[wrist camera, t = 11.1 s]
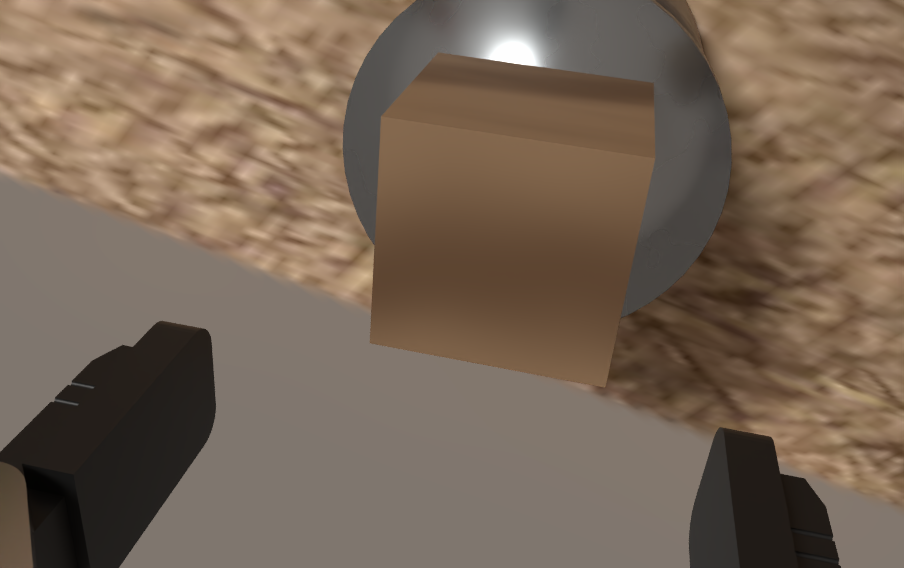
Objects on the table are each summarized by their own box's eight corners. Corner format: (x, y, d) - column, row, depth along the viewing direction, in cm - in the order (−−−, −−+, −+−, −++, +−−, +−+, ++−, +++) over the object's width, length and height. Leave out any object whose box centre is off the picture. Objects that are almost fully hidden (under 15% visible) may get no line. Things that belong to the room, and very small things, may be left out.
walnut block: (438, 52, 22) (381, 116, 17) (653, 82, 21) (655, 158, 17) (423, 242, 25) (369, 343, 20) (613, 275, 24) (605, 387, 19)
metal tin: (580, -150, 27) (553, -137, 20) (771, 98, 30) (815, 197, 22) (360, 62, 32) (269, 141, 24) (541, 261, 34) (510, 391, 27)
